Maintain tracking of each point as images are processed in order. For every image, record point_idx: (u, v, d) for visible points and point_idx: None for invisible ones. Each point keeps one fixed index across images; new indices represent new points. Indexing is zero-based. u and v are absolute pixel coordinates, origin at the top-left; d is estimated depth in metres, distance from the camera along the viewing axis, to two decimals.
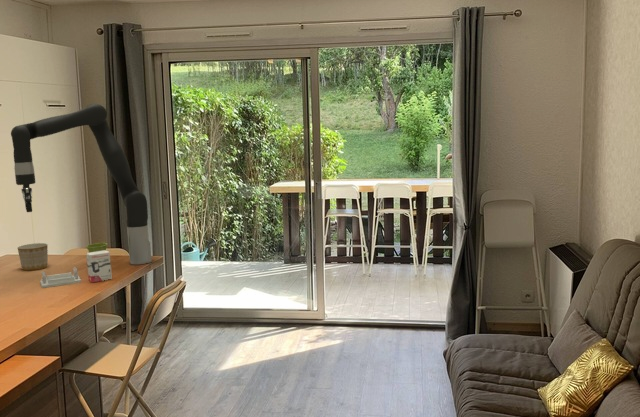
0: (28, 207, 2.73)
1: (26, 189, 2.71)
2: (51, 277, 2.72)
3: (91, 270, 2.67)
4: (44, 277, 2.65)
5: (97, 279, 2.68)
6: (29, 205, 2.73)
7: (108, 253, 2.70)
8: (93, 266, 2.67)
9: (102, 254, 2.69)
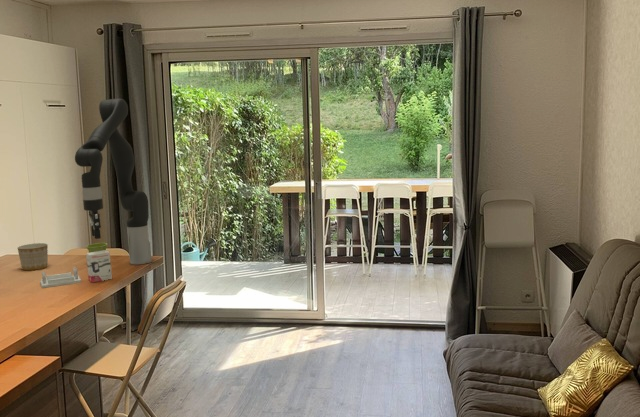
0: (97, 234, 2.64)
1: (95, 215, 2.61)
2: (51, 277, 2.72)
3: (91, 270, 2.67)
4: (44, 277, 2.65)
5: (97, 279, 2.68)
6: (98, 231, 2.64)
7: (108, 253, 2.70)
8: (93, 266, 2.67)
9: (102, 254, 2.69)
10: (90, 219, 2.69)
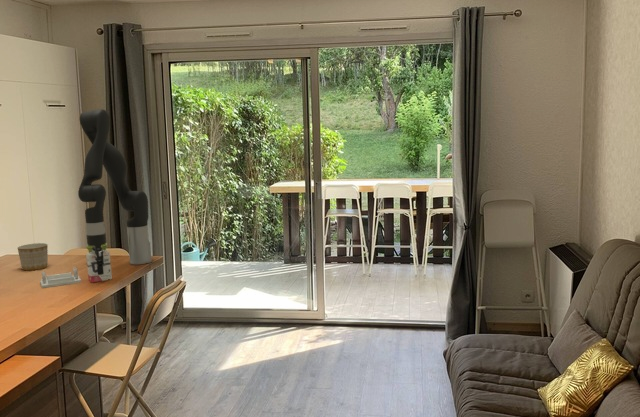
0: (100, 270, 2.67)
1: (99, 253, 2.64)
2: (51, 277, 2.72)
3: (91, 270, 2.67)
4: (44, 277, 2.65)
5: (97, 278, 2.68)
6: (101, 268, 2.67)
7: (108, 253, 2.70)
8: (93, 266, 2.67)
9: None
10: None
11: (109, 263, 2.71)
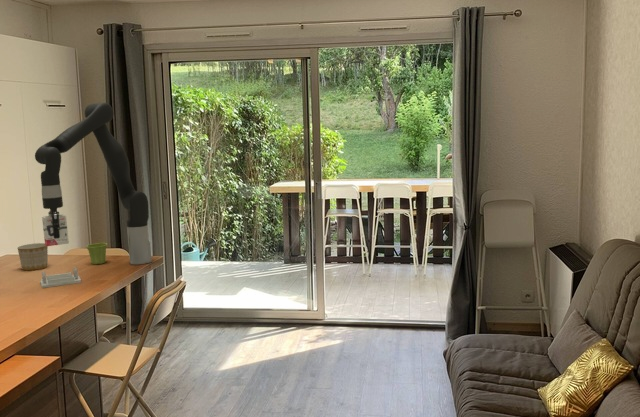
0: (56, 233, 2.64)
1: (54, 216, 2.60)
2: (51, 277, 2.72)
3: (47, 233, 2.63)
4: (44, 277, 2.65)
5: (53, 242, 2.65)
6: (57, 231, 2.64)
7: (64, 217, 2.67)
8: (49, 229, 2.64)
9: None
10: None
11: (65, 227, 2.67)
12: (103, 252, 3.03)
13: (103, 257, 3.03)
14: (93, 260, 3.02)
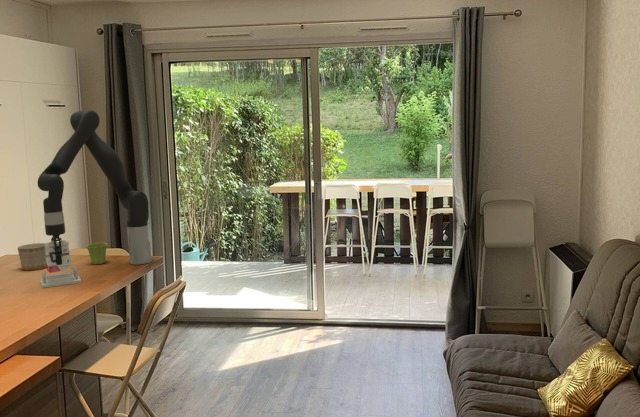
0: (58, 260, 2.65)
1: (57, 243, 2.62)
2: (51, 277, 2.72)
3: (49, 260, 2.65)
4: (44, 277, 2.65)
5: (55, 269, 2.67)
6: (59, 258, 2.65)
7: (67, 243, 2.68)
8: (51, 256, 2.65)
9: None
10: None
11: (68, 253, 2.69)
12: (103, 252, 3.03)
13: (103, 257, 3.03)
14: (93, 260, 3.02)
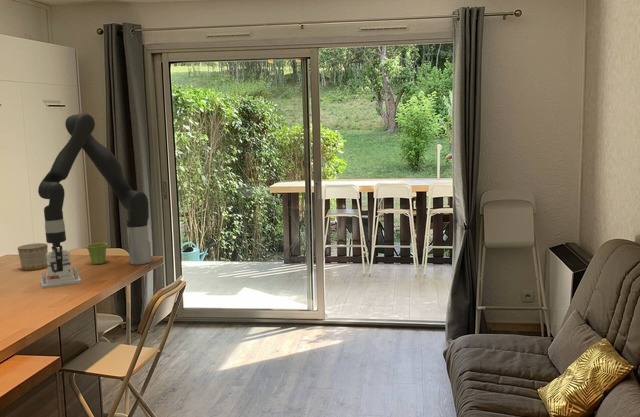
0: (59, 266, 2.65)
1: (57, 248, 2.62)
2: None
3: (50, 270, 2.66)
4: (44, 277, 2.65)
5: None
6: (60, 264, 2.65)
7: (68, 253, 2.69)
8: (52, 266, 2.66)
9: None
10: None
11: (69, 263, 2.69)
12: (103, 252, 3.03)
13: (103, 257, 3.03)
14: (93, 260, 3.02)
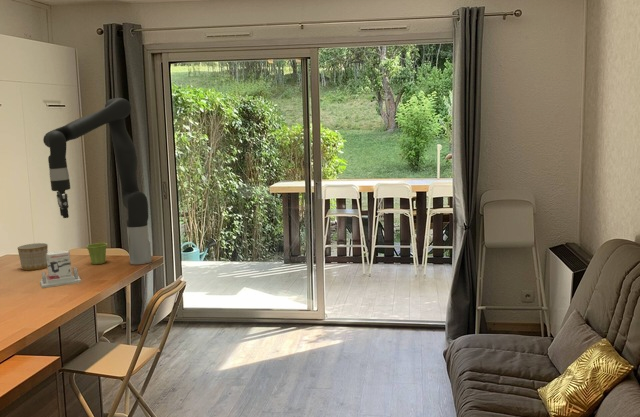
0: (65, 213, 2.73)
1: (63, 195, 2.70)
2: None
3: (50, 270, 2.66)
4: (44, 277, 2.65)
5: None
6: (66, 211, 2.73)
7: (68, 253, 2.69)
8: (52, 266, 2.66)
9: (62, 254, 2.67)
10: (58, 199, 2.77)
11: (69, 263, 2.69)
12: (103, 252, 3.03)
13: (103, 257, 3.03)
14: (93, 260, 3.02)
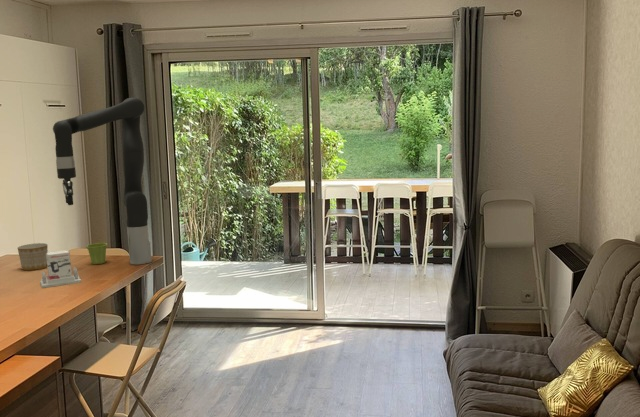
0: (69, 200, 2.81)
1: (68, 183, 2.78)
2: None
3: (50, 270, 2.66)
4: (44, 277, 2.65)
5: None
6: (70, 198, 2.81)
7: (68, 253, 2.69)
8: (52, 266, 2.66)
9: (62, 254, 2.67)
10: (64, 187, 2.86)
11: (69, 263, 2.69)
12: (103, 252, 3.03)
13: (103, 257, 3.03)
14: (93, 260, 3.02)
